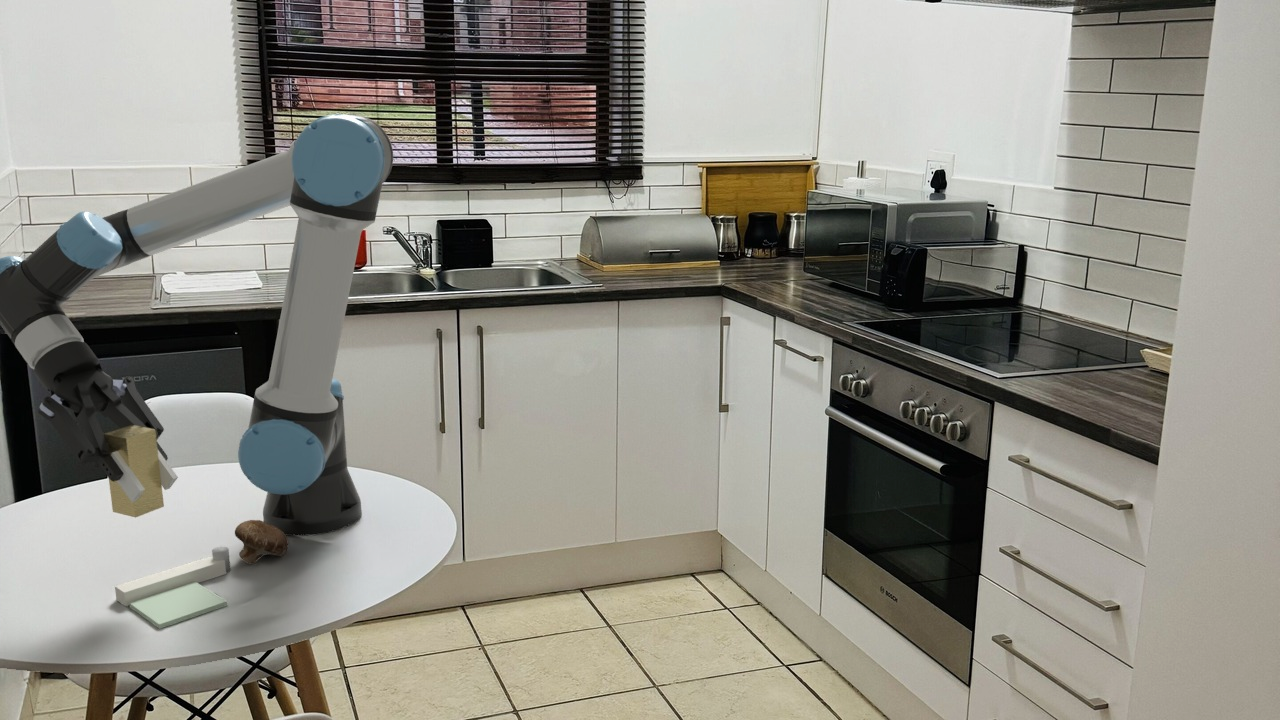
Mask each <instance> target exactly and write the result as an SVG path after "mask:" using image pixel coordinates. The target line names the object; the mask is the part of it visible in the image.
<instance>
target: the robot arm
mask: <svg viewBox="0 0 1280 720" xmlns="http://www.w3.org/2000/svg"><path fill="white" fill-rule="evenodd" d="M392 145H393V144H392V142H391V140H390V137H389V135H388V134H387V132H386V131H385V130H384V129H383V128H382V126H380V124H378V123H377V122H376V121H374V120H372V119H371V118H369V117H366V116H363V115H359V114H356V113H355V114H353V113H351V114H349V113H348V114H347V113H346V114H341V113H332V114H331V113H330V114H327V115H324V116H323V115H322V116H321V117H318V118H316V119H315V120H314V121H313V120H312V122H310V123H309V124H308V125H307V126H305V128H304V129H303V130H302V131H301V132H300V133H299V135H298V137H297V139H295V140H293V141H292V142H291V144H290V147H289V148H288V150H285V151H283V152H280V153H278V154H275V155H272V156H269V157H267V158H264V159H261V160H259V161H256V162H253V163H250V164H247V165H244V166H241V167H239V168H236V169H234V170H231V171H228V172H225V173H223V174H220V175H217V176H215V177H212V178H209V179H206V180H203V181H200V182H198V183H195V184H192V185H190V186H187V187H185V188H182V189H178V190H175V191H173V192H170V193H167V194H165V195H162V196H160V197H157V198H156V197H155V198H154V199H151V200H148V201H146V202H143V203H140V204H138V205H134V206H132V207H129V208H127V209H123V210H121V211H118V212H115V213H112V214H110V215H107V216H104V217H101V216H99V215H97V214H96V213H92V212H89V211H85V210H84V211H80V212H78V213H76V214H75V215H74V216H72V217H71V218H69V220H67V221H65V222H63V223H62V224H61V225H59V228H58V229H56V230H55V232H54V233H52V234H51V235H50V236H49V237H48V238H47V239H46V240H45V241H44V242H43V243H42V244H40V245H39V246H38V247H37V248H36V249H35V250H34V251H33V252H32V253H31V254H30V255H28V256H27V257H26V258H23V257H20V256H17V255H10V256H9V255H8V256H4V257H0V326H1V328H2V329H3V331H4V332H5V333H6V335H7V336H8V337H9V339H10V340H11V342H12V343H13V345H14V346H15V348H16V349H17V351H18V352H19V354H20V355H21V356H22V358H23V360H24V361H25V362H26V364H27V365H28V366H29V368H30V369H31V370H32V369H33V373H34V375H35V377H36V378H37V379H38V380H39V382H40V383H41V385H42V386H43V388H44V389H45V391H47V392H48V393H49V394H50V396H46V397H44V399H42V401H41V403H40V405H39V407H38V409H37V413H38V414H39V415H40V416H42V417H43V418H45V419H46V420H47V421H49V422H50V424H51V425H52V426H53V428H54V429H55V431H56V432H57V433H58V434H59V436H60V437H61V439H62V440H63V442H64V443H65V444H66V446H67V447H68V448H69V451H71V453H72V454H73V455H74V457H75V458H76V459H77V460H78V463H80V464H81V465H87V464H88V463H91V465H92V467H94V468H101V469H102V470H103V472H104V474H105V475H106V476H107V477H108V480H109V479H110V480H111V481H113V482H114V481H117V482H118V484H119V485H120V486H121V488H122V489H123V491H124V492H125V494H126V495H127V496H128V498H129V499H130V501H131V502H135V501H137V500H138V498H139V497H140V496H141V494H142V493H143V492H144V490H145V489H144V487H143V486H142V484H141V483H140V482H139V480H138V479H137V477H136V476H135V475H134V473H133V472H132V470H131V469H130V468H129V466H128V465H127V463H126V462H125V461H124V459H123V458H122V456H121V455H120V454H119V452H118V451H115V452H112V454H110V449H109V446H108V444H107V441H106V439H105V437H104V432H103V430H102V428H101V424H100V423H99V420H98V418H97V415H96V412H99V413H100V414H101V416H103V417H105V418H109V419H110V420H111V421H112V422H113V423H114V424H115V425H116V427H118V429H121V428H124V427H127V426H131V425H136V426H141V427H146V428H151V429H155V431H156V440H157V449H158V460H159V469H160V478H161V485H162V489H164V491H166V490H169V489H171V488H172V486H173V485H174V484H175V482H176V481H177V480H178V478H179V477H178V475H177V474H176V472H175V471H174V469H173V468H172V467H171V466H170V464H169V463H168V459H169V458H168V455H167V454H166V452H165V450H164V449H163V448H162V447H161V445H160V444H159V442H158V440H159V438H160V436H161V435H162V434H163V432H164V431H165V429H164V426H163V425H162V423H161V422H160V420H158V418H157V417H156V416H155V414H154V413H153V411H152V410H151V408H150V407H149V405H148V404H147V403H146V401H145V400H144V398H143V397H142V396H141V394H140V392H138V390H137V388H136V384H135V381H134V378H133V377H131V376H129V375H128V376H127V375H126V376H125V377H124V379H113V378H112V376H110V375H108V373H105V371H103V369H102V366H101V362H100V360H99V359H98V357H97V356H96V354H95V353H94V352H93V350H92V349H91V348H90V346H89V345H88V343H86V342H85V341H84V338H83V336H82V335H81V333H80V332H79V330H78V329H77V328H76V327H75V325H74V324H73V323H72V321H71V320H70V319H69V317H68V316H67V314H65V311H64V309H63V308H62V305H63V304H64V303H65V302H67V301H68V300H69V299H71V298H72V296H73V295H75V294H76V293H78V291H80V290H81V289H82V288H83V287H84V286H85V285H86V284H88V283H89V282H90V281H92V280H93V279H94V278H96V277H99V276H102V275H104V274H107V273H109V272H111V271H113V270H116V269H120V268H122V267H125V266H129V265H131V264H133V263H136V262H138V261H141V260H144V259H146V258H149V257H150V256H154V255H156V254H159V253H162V252H165V251H167V250H171V249H173V248H176V247H179V246H181V245H184V244H188V243H190V242H193V241H196V240H198V239H201V238H204V237H207V236H210V235H212V234H216V233H219V232H220V231H223V230H226V229H229V228H232V227H235V226H237V225H240V224H243V223H245V222H249V221H251V220H254V219H257V218H259V217H262V216H265V215H268V214H270V213H273V212H276V211H280V210H281V209H285V208H288V207H291V208H292V210H293V211H294V212H295V214H296V216H297V226H296V231H295V237H294V242H293V246H292V253H291V259H290V263H289V269H288V273H287V279H286V285H285V290H284V296H283V301H282V306H281V313H280V317H279V323H278V328H277V335H276V339H275V345H274V350H273V355H272V360H271V367H270V371H269V376H268V377H269V378H268V380H267V381H266V382H264V383H262V385H260V386H259V387H257V388H256V389H255V392H254V396H253V397H254V398H253V401H252V407H251V413H250V419H249V423H248V427H247V430H245V432H244V433H243V434H242V436H241V437H242V438H241V439H240V441H239V446H238V451H237V457H238V459H237V460H238V463H239V468H240V470H241V472H242V473H243V475H244V476H245V477H246V479H247V480H249V482H250V483H251V484H252V485H254V486H255V487H256V488H259V489H260V490H262V491H264V492H266V498H265V500H264V501H265V502H264V506H263V508H262V515H263V517H262V518H263V522H265V523H268V524H270V525H272V526H275V527H278V528H279V529H280V530H281V531H283V532H284V534H285V535H287V536H313V535H320V534H325V533H331V532H334V531H339V530H341V529H344V528H346V527H348V526H351V525H353V524H354V523H356V522H357V521H358V520H359V519H360V518H361V517H362V513H363V510H362V501H361V498H360V495H359V493H358V490H357V488H356V486H355V483H354V482H353V478H352V476H351V473H350V471H349V469H348V461H347V460H348V459H347V455H348V454H347V444H346V443H347V442H346V427H345V416H344V415H345V413H344V400H345V397H344V395H343V389H342V385H341V383H340V381H339V380H337V379H335V378H334V372H335V367H336V363H337V362H336V361H337V357H338V351H339V347H340V342H341V338H342V332H343V328H344V323H345V316H346V312H347V307H348V301H349V296H350V291H351V286H352V281H353V276H354V272H355V266H356V261H357V256H358V250H359V246H360V241H361V235H362V232H363V231H364V229H366V228H368V227H369V226H371V225H373V224H374V223H375V221H376V217H377V211H378V207H379V203H380V199H381V198H380V197H381V193H382V188H383V184H384V183H385V182H386V180H387V179H388V177H389V175H390V173H391V172H392V167H393V162H394V151H393V150H394V149H393V146H392ZM67 409H68V410H69V411H70V412H71V414H72V416H73V417H72V416H71V414H70V413H69V411H68V410H67Z"/></svg>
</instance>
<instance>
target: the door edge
mask: <svg viewBox="0 0 1280 720" xmlns="http://www.w3.org/2000/svg"><path fill="white" fill-rule="evenodd" d="M211 553H212V554H211V556H207V557H204V558H200V559H198V560H194V561H192V562H188V563H187V562H186V563H185V564H181V565H179V566H175V567H172V568H169V569H165V570H163V571H158V572H156V573H153V574H152V573H151V574H149V575H145V576H143V577H140V578H137V579H133V580H130V581H127V582H123V583H120V584H117V585H115V586H114V590H115V591H114V592H115V598H116V601H117V602H119V603H120V604H121V605H123V606H124V607H128V606H129V607H130V603H132V602H135V601H138V600H141V599H144V598H147V597H150V596H153V595H156V594H159V593H162V592H166V591H169V590H172V589H175V588H178V587H181V586H184V585H187V584H190V583H193V582H197V583H198V584H200V583H203V582H205V581H209V580H212V579H215V578H218V577H222V576H224V575H227V573H229V572H230V571H231V560H230V550H229V547H228V546H217V547H214V548H213V549H211Z"/></svg>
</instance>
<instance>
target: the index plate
mask: <svg viewBox="0 0 1280 720" xmlns="http://www.w3.org/2000/svg"><path fill="white" fill-rule="evenodd" d="M227 606H228V601H227V600H226V599H224V598H223V597H221V596H219V595H218V594H216V593H214V592H212V591H211V590H210V589H208V588H206V587H205V586H203V585H201V584H200V583H197V582H193V583H190V584H187V585H184V586H181V587H178V588H175V589H172V590H169V591H166V592H162V593H159V594H156V595H153V596H150V597H147V598H144V599H141V600H138V601H135V602H132V603H130V605H129V608H130V609H132V610H133V611H135V612H136V613H137V614H138V615H140V616H141V617H143V618H144V619H145V620H147V621H148V622H150V623H151V624H153V626H155V627H156V628H157V629H163V628H165V627H169V626H172V625H174V624H179V623H181V622H183V621H186V620H189V619H191V618H196V617H198V616H200V615H203V614H206V613H209V612H213V611H215V610H218V609H220V608H224V607H227Z"/></svg>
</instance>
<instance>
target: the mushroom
mask: <svg viewBox="0 0 1280 720" xmlns="http://www.w3.org/2000/svg"><path fill="white" fill-rule="evenodd" d="M234 536H235V537H236V538H237V539H238V540H239V541H240V542H242V544H243V547H242V549H241V550H240V551H239V552H238V556H239V558H240V559H242V560H243V561H244V562H246V563H247V564H249V565H253V564H255V563H256V562H257V561H259V559H261V558H262V557H263V556H265V555H271V556H272V555H273V556H277V557H282V556H285V555H286V554H287V553H288V549H289V541H288V538H287V536H286V535H285V534H284V532H283V531H281V530H280V529H279V528H278V527H275V526H272V525H270V524H268V523H265V522H264V520H263V521H262V520H260V519H249V520H245V521H243V522H240V523H239V524H238V525H237V526H236V527H235V530H234Z"/></svg>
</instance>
